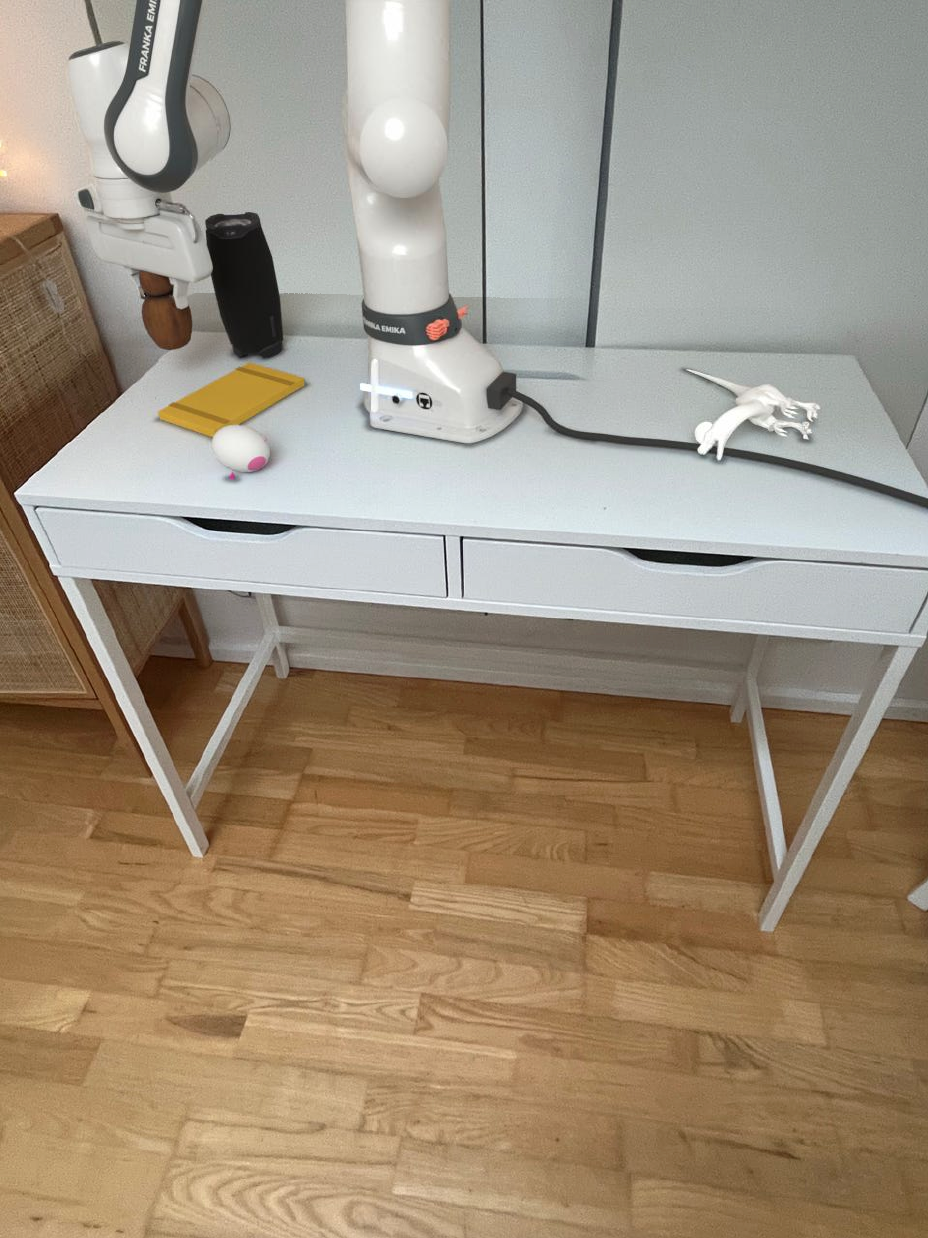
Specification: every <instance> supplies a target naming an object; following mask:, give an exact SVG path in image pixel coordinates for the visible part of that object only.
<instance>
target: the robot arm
mask: <svg viewBox="0 0 928 1238" xmlns="http://www.w3.org/2000/svg"><path fill="white" fill-rule="evenodd" d="M344 1H345V2H344V3H345V24H346V26H345V27H346V65H347V66H346V67H347V68H346V70H347V73H346V74H347V87H346V89H345V91H344V95H343V98H342V101H341V107H340V120H341V130H342V137H343V146H344V152H345V161H346V168H347V175H348V183H349V190H350V191H349V192H350V197H351V206H352V212H353V219H354V226H355V227H354V228H355V234H356V242H357V248H358V249H357V251H358V258H359V259H358V260H359V268H360V276H361V277H360V278H361V285H362V293H363V299H362V301H361V303H360V304H361V314H362V315H361V319H362V326H363V331H364V332H365V334H366V335H367V378H366V379H367V380H366V383H360V384H359V387H360V391H365V394H364V398H363V399H364V400H363V405H364V408H365V409H366V411H367V413H368V414H369V426H370V427H372V428H373V429H378V430H383V431H384V430H385V431H391V432H397V433H402V434H408V435H414V436H419V437H426V438H431V439H437V440H443V441H449V442H456V443H460V444H461V443H462V444H474V443H478V442H481V441H484V440H488V439H489V438H491V437H494V436H496V435H497V434H499V433H501V432H502V431H504V429H507V427H509V426H510V425H511V424H513V422H514V421H515V420H516V419H517V418H518V417H519V416H520V414H521V413H522V411H523V408H524V404H525V405H527V406H529V407H531V408H532V409H533V410H535V411H536V412H537V413H538V414H539V415H540V416H541V418H542V419H543V421H544V422H545V424H547V425H548V427H550V428H551V429H552V430H554V431H555V432H557V433H560V434H561V435H564V436H567V437H570V438H573V439H578V440H586V441H596V442H606V443H612V444H620V445H629V446H630V445H631V446H640V447H641V446H642V447H643V446H644V447H654V448H665V449H675V450H683V451H689V452H698V450H697V449H698V447H699V446H700V445H701V444H700V443H698V442H696V443H695V442H690V441H689V442H688V441H678V440H670V439H661V438H648V437H637V436H636V437H635V436H624V435H616V434H609V433H602V432H589V431H580V430H574V429H571V428H569V427H566V426H564V425H562V424H560V423H558V422H556V421H555V419H554V418H553V417H552V416H551V414H550V413H549V411H547V409H546V408H545V407H544V406H543V405H542V404H541V403H539V402H537V401H536V400H535V399H534V398H532V397H531V396H528V395H526V394H523V393H522V392H520V391H517V373H513V372H508V371H504V368H503V367H502V364H501V362H500V361H499V360H498V359H497V358H496V357H495V356H494V355H493V354H491V353H490V352H489V351H488V350H487V349H486V348H485V346H483V345H482V344H481V343H480V342H479V341H478V340H477V339H476V338H475V337H473V336H472V334H470V333H469V332H468V330H466V328H464V327H463V321H462V318H464V317H465V316H467V315H468V314H469V313H468V312H467V309H468V305H464V306H463V307H461V308H459V309H457V305H456V303H455V301H454V299H453V296H452V294H451V293H450V287H449V266H448V265H449V264H448V244H447V230H446V224H445V223H446V222H445V217H444V216H445V215H444V210H443V202H442V193H441V185H440V178H441V176H442V174H443V173H444V170H445V167H446V165H447V161H448V156H449V148H450V118H451V7H452V0H344ZM210 2H211V0H136V3H135V9H134V16H133V23H132V29H131V35H130V41H129V44H128V43H127V42H124V41H120V40H113V41H112V40H111V41H108V42H104V43H103V42H102V43H100V44H96V45H93V46H90V47H87V48H83V49H80V50H78V51H77V50H76V51H74V52H73V53H72V54H70V56H69V58H68V60H67V61H66V64H65V76H66V83H67V89H68V94H69V98H70V103H71V108H72V111H73V115H74V117H75V118H74V119H75V122H76V126H77V129H78V133H79V135H80V138H81V139H82V142H84V145H85V146H86V149H87V151H88V155H89V160H90V173H91V176H92V180H93V182H92V183H90V184H88V185H85V186H83V187H80V188H78V189H75V190H74V191H73V194H74V199H75V202H76V204H77V206H78V207H79V208H80V209H82V219H83V220H82V221H83V224H84V227H85V230H86V234H87V237H88V239H89V242H90V245H91V248H92V250H93V252H94V254H95V255H96V256H97V258H98V259H99V260H100V261H101V262H104V263H108V264H113V265H117V266H121V267H123V269H124V271H125V274H126V276H127V277H128V278H129V280H130V282H131V283H132V284H133V286H134V287H135V289H136V293H137V296H138V298H139V299H141V300H143V301H144V300H145V297H146V296H147V294H146V293H145V292H144V291H143V289H142V288H141V285H140V281H139V272H140V270H144V271H147V272H150V273H154V274H158V275H162V276H166V277H169V280H170V283H171V284H172V285H174V289H173V294H171V295H169V297H170V300H171V304H172V306H173V307H175V308H179V309H183V308H186V307H187V306H188V305H189V306H190V303H189V299H188V296H187V293H188V289H189V284H190V283H191V284H195V283H198V282H201V281H203V280H205V279H208V278H209V277H211V273H212V270H213V265H212V261H211V258H210V254H209V251H208V248H207V242H206V237H205V235H204V233H203V231H202V229H201V228H202V227H201V226H200V224H199V223H198V220H197V219H196V217H195V215H194V214H193V213H192V212H191V211H190V210H189V209H188V208H187V207H186V205H185V204H183V203H181V202H173V198H172V193H171V192H174V191H177V190H179V189H180V188H181V187H182V186H184V185H185V183H186V182H187V181H188V180H189V179H190V178H191V177H192V176H193V174H195V173H196V172H197V171H200V170H201V169H202V168H203V167H205V166H206V165H207V164H208V163H210V162H211V161H213V160H214V159H215V158H216V157H218V155H219V154H220V153H221V152H222V151H223V150H224V149H225V148H226V146H227V144H228V142H229V140H230V136H231V129H232V127H231V125H232V124H231V117H230V113H229V110H228V107H227V105H226V104H227V103H226V102H225V100H224V98H223V97H222V95H221V94H220V92H219V90H217V88H216V87H215V86H214V85H212V83H210V82H209V81H208V80H207V79H205V78H203V77H201V76H198V75H195V74H193V69H194V65H195V59H196V53H197V47H198V41H199V36H200V32H201V27H202V22H203V19H204V16H205V13H206V11H207V8H208V7H209V6H208V5H209V3H210ZM143 241H144V242H143ZM710 447H711V446H710ZM717 447H718V445H712V447H711V449H710V448H709V450H708V449H707V450H708V451H707V453H706V454H712V455H713V454H714V455H718V451H717ZM722 456H727V457H733V458H739V459H746V460H751V461H756V462H760V463H761V462H762V463H767V464H772V465H776V466H779V467H780V466H781V467H785V468H790V469H794V470H799V471H801V472H802V471H803V472H807V473H812V474H815V475H819V476H822V477H826V478H831V479H833V480H837V481H841V482H844V483H847V484H852V485H855V486H858V487H862V488H866V489H868V490H872V491H876V492H878V493H881V494H884V495H887V496H891V497H893V498H896V499H899V500H903V501H906V502H909V503H913V504H915V505H918V506H921V507H924V508H928V497H925V496H921V495H919V494H915V493H913V492H910V491H906V490H903V489H900V488H897V487H894V486H890V485H887V484H884V483H882V482H877V481H874V480H871V479H867V478H864V477H861V476H857V475H854V474H850V473H846V472H843V471H839V470H835V469H832V468H828V467H824V466H820V465H816V464H812V463H808V462H804V461H799V460H796V459H790V458H786V457H781V456H776V455H772V454H767V453H761V452H755V451H750V450H745V449H737V448H733V447H732V448H731V447H725V446H724V450H723V455H722Z"/></svg>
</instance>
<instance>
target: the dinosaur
mask: <svg viewBox="0 0 928 1238" xmlns="http://www.w3.org/2000/svg"><path fill="white" fill-rule="evenodd" d="M685 370H686V371H688V372H689V373H692V374H695V375H697V376H699V377H703V378H704V379H706V380H709V381H711V382H713V383H715V384H717V385H719V386H721V387H724V388H725V389H728V390H729V391H730V392H732V393H733V394H734V395H735V396H737V397H736V398H735V404H736V406H735V407H732V408H731V409H729V410H727V411H725V412H724V413H722V414H721V415H720V416H719V417H718V418H717V420H715V421H714V422H713V423H712V422H710V421H704V422H701V423H699V424H698V425H697V426H696V428H695V430H694V436H695V441H696V442H697V443H698V444H701V445H700V446H699V447H698V449H697V450H698V451H697V452H698V454H699V455H703V456H705V455H706V454H708V453H707V451H708V450H709V448H710V449H711V447H712V446H716V445H715V444H716V442H717V446H718V447H717V451H718V454H716V457H715V458H716V460H717V461H721V460H722V459H723V456H724V455H723V450H724V447H725V446H726V443H727V442H728V440H729V437H730V436H731V435H732V433H733V432H734V431H735V430H736V429H737V428H738V426H739V425H741V424H742V423H743V422H745V421H746V420H748V421H749V422H751V423H752V424H753V425H755V426H758V427H761V428H763V429H766V430H767V431H768V432H771V433H772V432H775V433H776V434H777V435H779V436H780V437H781V438H783V437H788V435H787V434H785V433H787V431H786V430H785V429H783V428H793V429H796V430H798V431H799V433H800V434H801V435H802V439H804V440H809V436H808V435H811V434H812V428H809V426H810V422H812V423H814V421H813V419H818V410H821V408H820V405H819V404H818V403H816V402H801V401H799V400H794V399H793V398H792V397H786V396H785V395H784V394H783V393H782V392H781V391H780V390H779V389H777V388H776V387H775V386H774V385H771V384H769V383H764V384H761V385H758V386H752V387H749V386H745V385H741V384H737V383H735V382H731V381H728V380H725V379H722V378H720V377H717V376H713V375H710V374H706V373H703V372H700V371H697V370H693V369H689V368H687V369H685ZM796 406H797V407H796ZM775 407H777V408H780V410H781V413H782V414H783V416H786V417H787V418H788V419H795V416H793V415H798V413H797V412H796V411H794V410H799V407H800V408H802V409H804V410H805V411H806V417H807V419H808V420H809V421H803V422H800V423H799V422H793V421H786V420H783V419H777V418H776V417H775V416H774V415H773V413H774V412H775ZM812 418H813V419H812ZM710 446H711V447H710ZM707 449H708V450H707Z"/></svg>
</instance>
